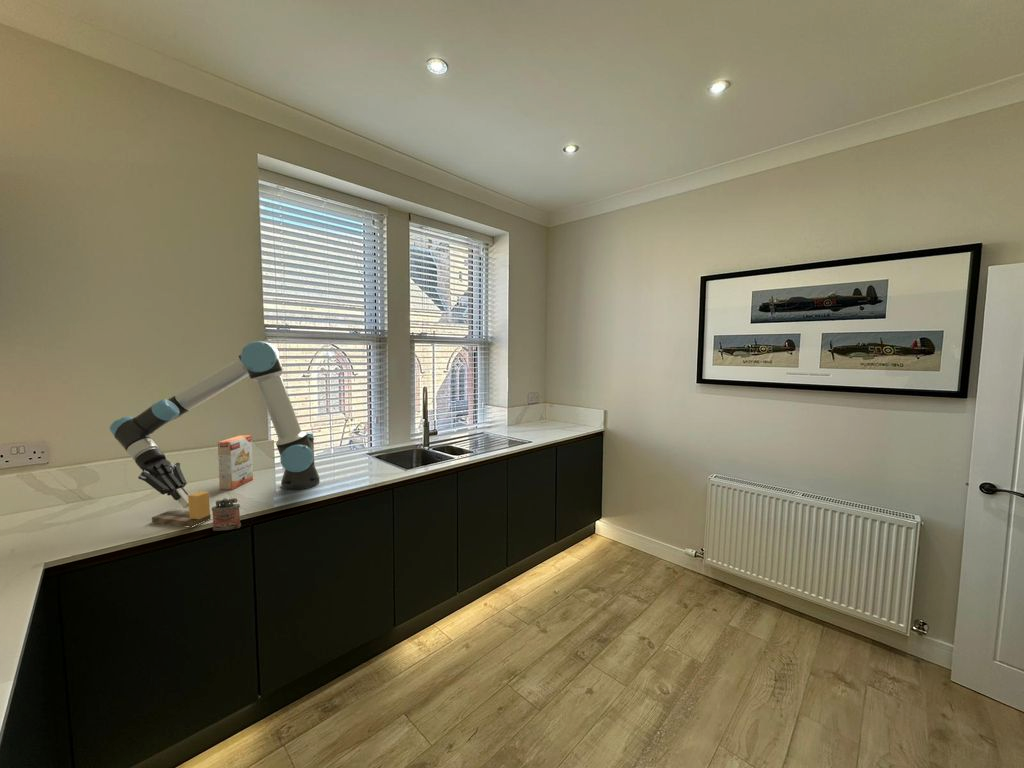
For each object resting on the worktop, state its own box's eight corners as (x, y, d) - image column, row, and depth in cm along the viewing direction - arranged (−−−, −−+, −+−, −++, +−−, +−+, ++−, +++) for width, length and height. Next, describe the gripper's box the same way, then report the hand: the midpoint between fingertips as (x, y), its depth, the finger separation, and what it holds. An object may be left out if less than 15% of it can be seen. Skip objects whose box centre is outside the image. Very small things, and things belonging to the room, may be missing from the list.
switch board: (152, 522, 142) (151, 516, 141) (172, 514, 148) (172, 509, 148) (191, 527, 138) (190, 521, 138) (210, 519, 145) (210, 513, 144)
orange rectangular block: (189, 518, 140) (188, 495, 139) (200, 513, 143) (199, 491, 143) (199, 519, 139) (197, 496, 138) (210, 514, 142) (208, 492, 142)
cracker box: (233, 490, 174) (230, 441, 172) (219, 490, 174) (216, 441, 172) (254, 479, 188) (252, 434, 186) (241, 479, 188) (239, 434, 186)
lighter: (211, 531, 135) (209, 502, 134) (215, 527, 138) (213, 498, 138) (238, 528, 137) (237, 499, 136) (242, 524, 141) (240, 496, 140)
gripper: (161, 456, 151) (200, 504, 149) (120, 466, 138) (162, 519, 136) (171, 443, 149) (211, 491, 147) (131, 452, 137) (174, 505, 134)
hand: (187, 504), depth 142 cm, fingers closed
